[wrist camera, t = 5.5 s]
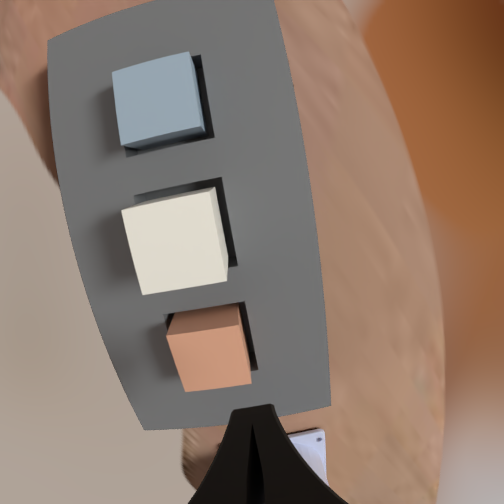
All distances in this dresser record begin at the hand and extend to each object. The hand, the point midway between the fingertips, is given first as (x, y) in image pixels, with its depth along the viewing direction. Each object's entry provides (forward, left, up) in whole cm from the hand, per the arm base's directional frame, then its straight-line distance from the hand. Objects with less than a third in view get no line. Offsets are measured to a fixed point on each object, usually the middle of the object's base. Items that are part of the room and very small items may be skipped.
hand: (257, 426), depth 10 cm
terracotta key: (0, +2, -8) cm, 9 cm away
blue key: (+12, +2, -8) cm, 15 cm away
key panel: (+6, +2, -10) cm, 11 cm away
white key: (+6, +2, -7) cm, 9 cm away
